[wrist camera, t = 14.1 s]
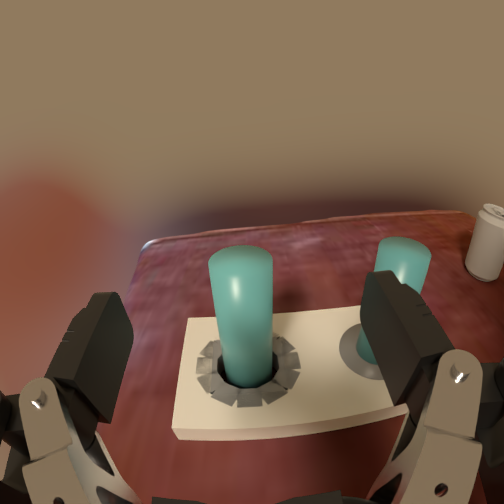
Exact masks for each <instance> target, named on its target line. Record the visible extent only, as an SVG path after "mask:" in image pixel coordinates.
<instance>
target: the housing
mask: <svg viewBox="0 0 504 504" xmlns="http://www.w3.org/2000/svg"><path fill="white" fill-rule="evenodd" d="M360 329H361V322H360V306H352V307H344V308H334V309H324V310H314V311H303V312H291V313H278V314H273V338H272V366H273V367H274V368H275V369H276V370H277V373H276V375H275V376H274V378H273V380H272V381H270V382H268V383H266V384H264V385H262V386H261V387H259V388H250V389H239V388H237V387H234V386H232V385H229V384H227V383H225V382H224V381H223V379H222V378H221V376H220V374H221V373H222V372H223V370H224V369H225V367H224V361H223V356H222V350H221V344H220V338H219V332H218V326H217V319H216V317H205V318H188V323H187V328H186V334H185V340H184V346H183V352H182V359H181V365H180V371H179V378H178V385H177V392H176V399H175V406H174V414H173V421H172V429H173V431H174V432H175V434H176V436H177V437H178V439H179V440H211V441H222V440H254V439H269V438H281V437H290V436H299V435H307V434H314V433H321V432H327V431H333V430H339V429H344V428H349V427H354V426H359V425H363V424H368V423H372V422H376V421H380V420H384V419H388V418H392V417H395V416H399V415H402V414H406V413H407V412H408V410H409V409H408V407H407V404H406V403H405V404H401V405H398V406H394V405H393V403H392V400H391V397H390V395H389V392H388V389H387V387H386V384H385V382H384V379H383V377H382V374H381V372H380V369H379V367H378V365H375V364H371V363H368V362H366V361H365V360H363V359H362V358H361V357H360V356H359V354H358V353H357V350H356V344H357V340H358V336H359V333H360Z"/></svg>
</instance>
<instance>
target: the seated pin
mask: <svg viewBox="0 0 504 504" xmlns="http://www.w3.org/2000/svg"><path fill="white" fill-rule="evenodd" d="M430 259H431V253H430V251H429V250H428V248H427V247H425V246H424V245H423V244H421V243H419V242H417V241H415V240H412V239H409V238H405V237H388V238H385V239H383V240H381V241H380V243H379V248H378V253H377V259H376V264H375V269H374V272H376V271H384V270H391V271H393V272H394V274H395V275H396V277H397V278H398V280H399V281H400V283H401V284H405V283H406V284H407V285H409V286H410V287H412V288H413V289H414V290H416V291H417V292H418V293H419V294H420V292H421V289H422V286H423V283H424V280H425V277H426V273H427V270H428V266H429V263H430ZM356 350H357V353H358V354H359V356H360V357H361V358H362V359H363V360H365V361H366V362H368V363H371V364H375V365H378V364H377V362H376V359H375V357H374V354H373V352H372V349H371V347H370V345H369V342H368V340H367V338H366V335H365V333H364V331H363V328H362V326H361V329H360V333H359V336H358V340H357V344H356Z"/></svg>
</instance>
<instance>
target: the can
mask: <svg viewBox="0 0 504 504" xmlns="http://www.w3.org/2000/svg"><path fill="white" fill-rule="evenodd" d="M483 207H484V208H483V209H482V210H480V211H479V212H478V216H477V220H476V224H475V228H474V232H473V236H472V239H471V243H470V246H469V250H468V253H467V256H466V259H465V265H466V267H467V270H468V272H469V273H470V274H471V275H472V276H473V277H475V278H477V279H478V280H481V281H486V282H489V281H492V280H495V279H497V278H498V276H499V274H500V271H501V268H502V266H503V263H504V208H502V207H499V206H496V205H493V204H484V205H483Z"/></svg>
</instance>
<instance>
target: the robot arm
mask: <svg viewBox="0 0 504 504" xmlns="http://www.w3.org/2000/svg"><path fill="white" fill-rule="evenodd" d="M360 322H361V326H362V328H363V331H364V333H365V335H366V338H367V340H368V342H369V345H370V347H371V349H372V352H373V354H374V357H375V359H376V362H377V364H378V367H379V369H380V372H381V374H382V377H383V379H384V382H385V384H386V387H387V389H388V392H389V395H390V397H391V400H392V403H393V405H394V406H398V405H401V404H405V403H406V404H407V407H408V409H409V410H408V412H407V414H406V416H405V419H404V421H403V424H402V427H401V429H400V432H399V435H398V437H397V440H396V442H395V445H394V447H393V449H392V452H391V454H390V456H389V459H388V461H387V463H386V465H385V467H384V468H383V470H382V471H381V473H380V474H379V476H378V477H377V479H376V480H375V482H374V484H373V486H372V487H371V489H370V491H369V493H368V495H367V497H366V499H362V498H356V497H345V496H341V490H337V491H332V492H327V493H321V494H316V495H309V496H303V497H295V498H292V499H289V500H286V501H283V502H280V503H276V504H468V502H469V499H470V496H471V493H472V489H473V486H474V482H475V479H476V475H477V471H478V470H479V473H480V477H481V481H482V484H483V488H484V492H485V496H486V500H487V504H504V358H503V359H502V361H501V362H500V363H479V361H478V360H477V359H476V358H475V357H474V356H473V355H472V354H470V353H469V352H467V351H464V350H458V349H455V348H454V346H453V345H452V343H451V341H450V340H449V338H448V337H447V335H446V333H445V332H444V330H443V329H442V327H441V326H440V324H439V323H438V321H437V319H436V318H435V316H434V315H432V312H431V310H430V309H429V307H428V306H426V303H425V302H424V300H423V299H422V297H421V296H420V294H419V293H418V292H417V291H416V290H414V289H413V288H412V287H410V286H409V285H407V284H406V283H405V284H401V283H400V281H399V280H398V278H397V277H396V275H395V274H394V272H393V271H391V270H384V271H376V272H369V273H368V274H367V276H366V281H365V286H364V291H363V297H362V302H361V306H360ZM133 339H134V334H133V328H132V325H131V323H130V320H129V318H128V316H127V313H126V311H125V308H124V306H123V304H122V301H121V299H120V296H119V295H118V293H116V292H102V293H94V294H93V296H92V297H91V299H90V301H89V303H88V305H87V307H86V308H83V309H82V310H81V311H80V312H79V313H78V314H77V315H76V316H75V317H74V318H73V319H72V321H71V323H70V325H69V327H68V329H67V332H66V333H65V335H64V337H63V339H62V342H61V343H60V345H59V347H58V349H57V351H56V353H55V355H54V357H53V359H52V361H51V363H50V365H49V368H48V370H47V372H46V374H45V376H44V378H36V379H34V380H32V381H30V382H29V383H28V384H27V385H26V386H25V387H24V388H23V390H22V391H21V394H15V395H9V396H5V395H4V394H3V393H2V392H1V391H0V444H1V441H2V440H3V441H4V442H6V443H7V444H8V445H9V446H11V450H10V453H9V458H8V461H7V466H6V470H5V475H4V478H3V480H2V481H0V504H143V503H142V502H141V500H140V499H139V497H138V496H137V495H136V494H135V492H134V491H133V490H132V489H131V488H130V487H129V486H128V485H127V484H126V483H125V481H124V480H123V479H122V477H121V475H120V474H119V472H118V470H117V468H116V466H115V465H114V463H113V461H112V459H111V457H110V455H109V453H108V451H107V449H106V447H105V445H104V443H103V441H102V439H101V437H100V434H99V433H98V431H97V430H96V427H97V423H98V422H101V423H108V424H111V421H112V416H113V412H114V408H115V404H116V401H117V397H118V393H119V389H120V386H121V382H122V379H123V375H124V371H125V368H126V365H127V361H128V358H129V355H130V351H131V348H132V345H133ZM152 504H205V503H202V502H198V501H189V500H177V499H167V498H159V497H152Z"/></svg>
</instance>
